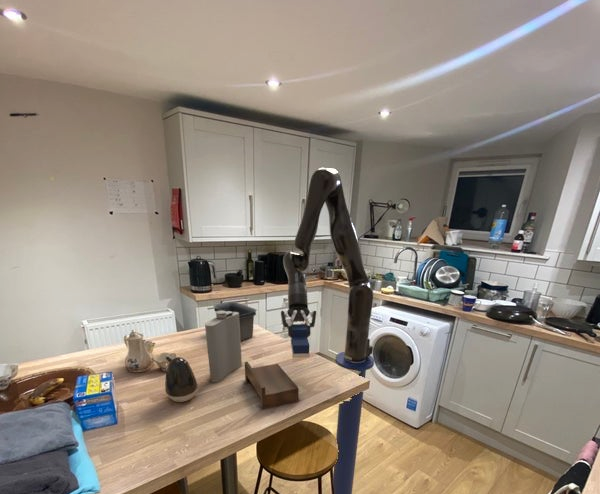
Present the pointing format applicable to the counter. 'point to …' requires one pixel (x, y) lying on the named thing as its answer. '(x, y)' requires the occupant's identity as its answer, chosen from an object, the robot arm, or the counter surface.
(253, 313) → the storage bin
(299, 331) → the trainer
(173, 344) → the counter surface
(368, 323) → the robot arm
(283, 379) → the shoe shelf
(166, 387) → the dark brown tall dome
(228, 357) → the flask
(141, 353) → the chinaware
